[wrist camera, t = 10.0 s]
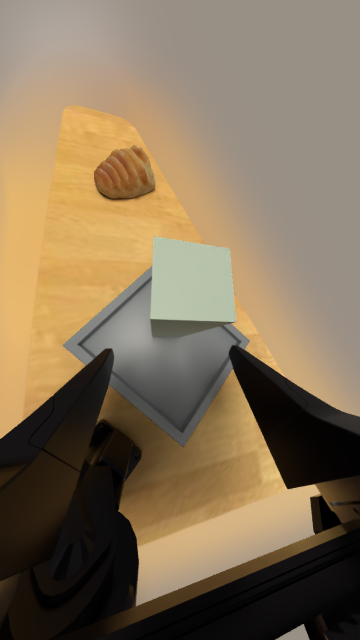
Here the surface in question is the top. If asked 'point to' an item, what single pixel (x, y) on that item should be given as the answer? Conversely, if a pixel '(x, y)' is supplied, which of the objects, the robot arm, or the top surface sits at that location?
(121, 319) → the tray
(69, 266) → the top surface
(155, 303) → the block
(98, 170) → the pastry
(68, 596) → the robot arm
